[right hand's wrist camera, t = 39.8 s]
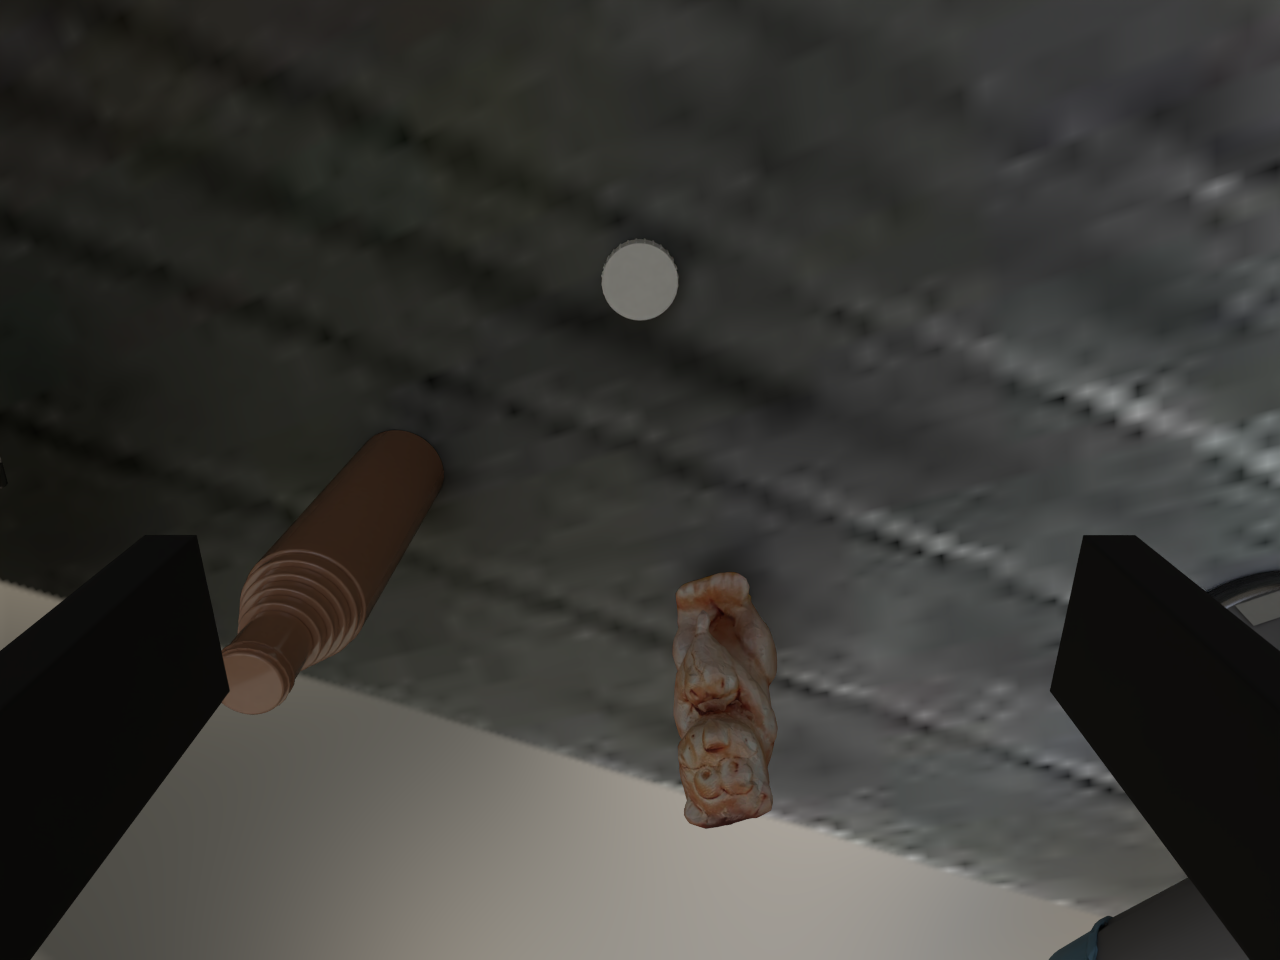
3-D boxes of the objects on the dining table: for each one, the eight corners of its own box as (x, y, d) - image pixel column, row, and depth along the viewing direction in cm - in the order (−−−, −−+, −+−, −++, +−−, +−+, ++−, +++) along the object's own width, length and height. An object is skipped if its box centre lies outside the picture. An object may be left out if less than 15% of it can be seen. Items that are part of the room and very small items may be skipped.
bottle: (458, 456, 48) (340, 664, 29) (421, 524, 49) (286, 763, 30) (379, 413, 47) (203, 599, 28) (343, 484, 48) (153, 705, 29)
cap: (587, 269, 44) (584, 275, 42) (646, 221, 43) (647, 225, 41) (633, 329, 45) (633, 336, 43) (692, 283, 44) (694, 289, 42)
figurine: (740, 537, 49) (780, 694, 35) (778, 642, 52) (829, 827, 38) (641, 569, 50) (641, 735, 36) (683, 672, 53) (698, 863, 39)
